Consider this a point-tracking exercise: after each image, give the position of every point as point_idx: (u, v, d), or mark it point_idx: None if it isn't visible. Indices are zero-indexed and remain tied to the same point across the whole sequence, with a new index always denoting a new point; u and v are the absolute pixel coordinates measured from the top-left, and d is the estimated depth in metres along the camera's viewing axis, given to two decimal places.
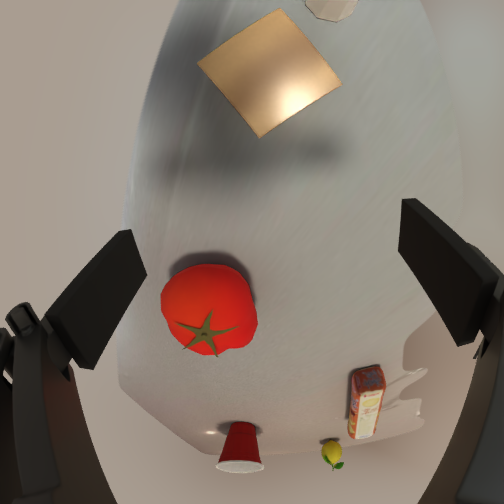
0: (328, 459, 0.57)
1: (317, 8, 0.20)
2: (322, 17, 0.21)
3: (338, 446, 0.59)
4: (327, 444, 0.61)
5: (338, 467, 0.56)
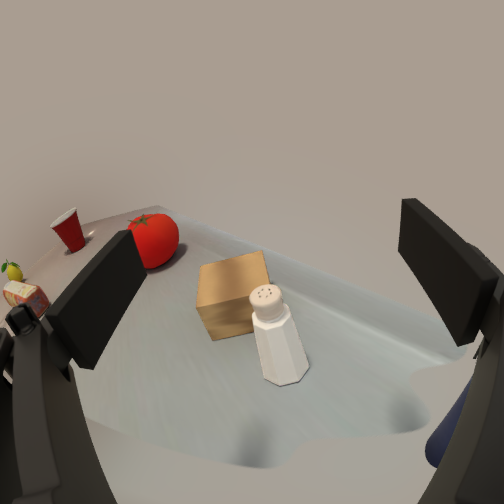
0: (14, 266, 0.67)
1: None
2: None
3: None
4: (21, 277, 0.69)
5: (3, 265, 0.66)
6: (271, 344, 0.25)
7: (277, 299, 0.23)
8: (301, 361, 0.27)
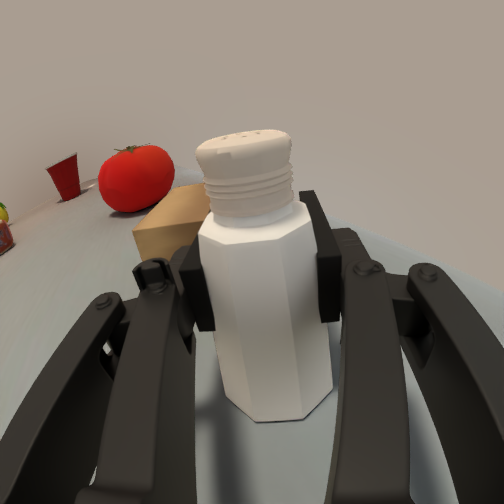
0: (0, 206, 0.57)
1: None
2: None
3: None
4: (5, 220, 0.59)
5: None
6: (241, 304, 0.08)
7: (275, 141, 0.07)
8: (318, 373, 0.10)
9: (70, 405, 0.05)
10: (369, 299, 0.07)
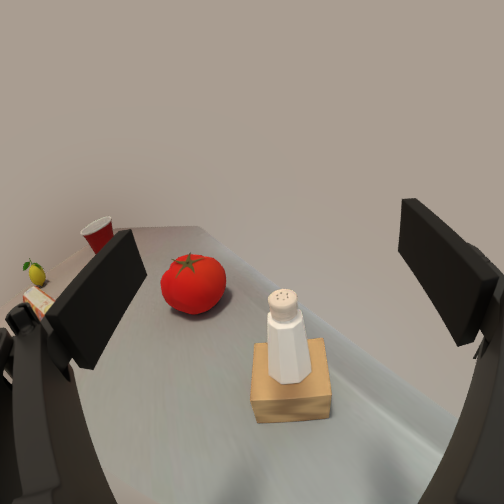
0: (37, 266, 0.69)
1: None
2: None
3: (35, 281, 0.68)
4: (43, 279, 0.71)
5: (26, 263, 0.68)
6: (280, 343, 0.27)
7: (293, 303, 0.26)
8: (305, 364, 0.29)
9: None
10: None
